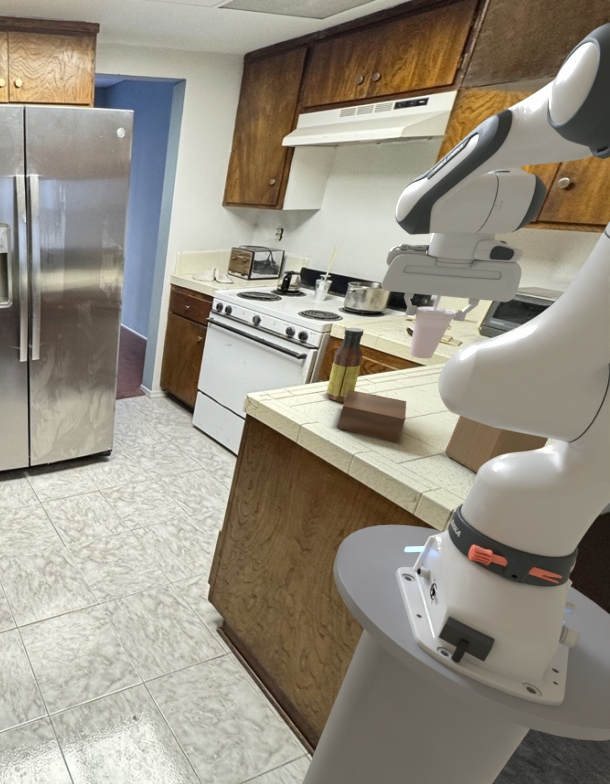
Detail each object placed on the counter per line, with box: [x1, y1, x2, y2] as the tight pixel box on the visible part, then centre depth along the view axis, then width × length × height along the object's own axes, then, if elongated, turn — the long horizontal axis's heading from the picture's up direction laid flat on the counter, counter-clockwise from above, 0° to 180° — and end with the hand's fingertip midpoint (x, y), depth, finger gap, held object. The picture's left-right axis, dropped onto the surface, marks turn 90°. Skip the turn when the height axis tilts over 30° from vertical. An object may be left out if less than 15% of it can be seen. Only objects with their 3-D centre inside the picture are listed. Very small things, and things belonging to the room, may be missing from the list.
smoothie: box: [408, 296, 456, 359], centre depth 95 cm, size 6×6×14 cm
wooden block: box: [445, 415, 549, 474], centre depth 95 cm, size 10×10×20 cm
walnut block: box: [336, 390, 407, 443], centre depth 114 cm, size 12×12×6 cm
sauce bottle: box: [326, 327, 365, 403], centre depth 126 cm, size 6×6×20 cm
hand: (433, 317), depth 95 cm, fingers closed on smoothie, 6 cm apart
